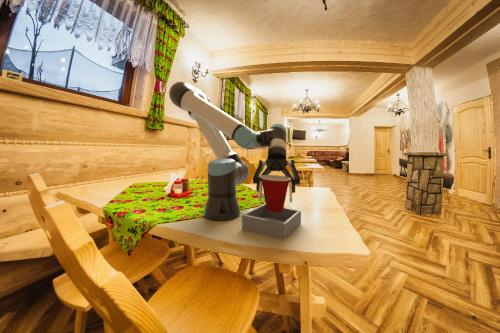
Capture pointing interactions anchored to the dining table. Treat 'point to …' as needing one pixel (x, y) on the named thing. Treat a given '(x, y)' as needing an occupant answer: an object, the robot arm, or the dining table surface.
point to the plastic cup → (275, 191)
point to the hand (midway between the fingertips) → (275, 199)
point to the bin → (271, 222)
